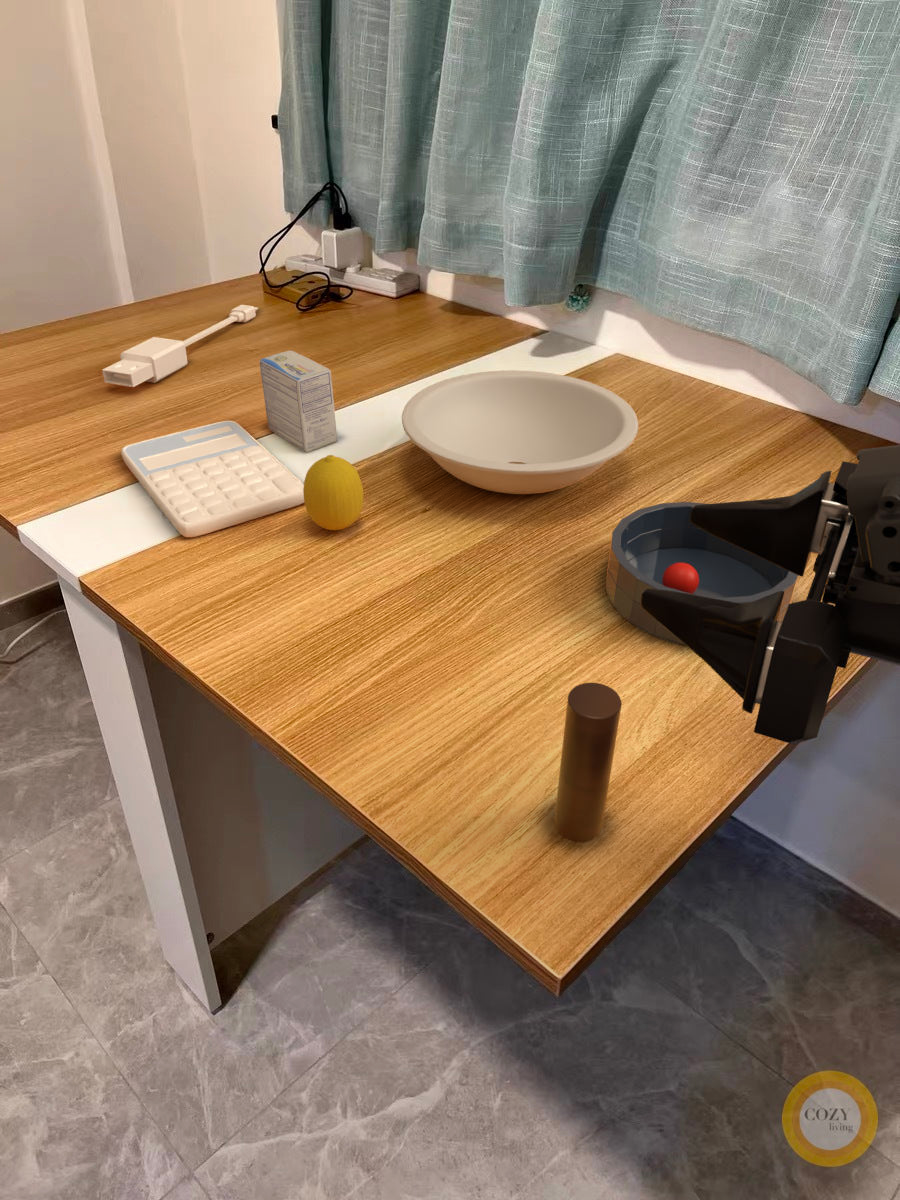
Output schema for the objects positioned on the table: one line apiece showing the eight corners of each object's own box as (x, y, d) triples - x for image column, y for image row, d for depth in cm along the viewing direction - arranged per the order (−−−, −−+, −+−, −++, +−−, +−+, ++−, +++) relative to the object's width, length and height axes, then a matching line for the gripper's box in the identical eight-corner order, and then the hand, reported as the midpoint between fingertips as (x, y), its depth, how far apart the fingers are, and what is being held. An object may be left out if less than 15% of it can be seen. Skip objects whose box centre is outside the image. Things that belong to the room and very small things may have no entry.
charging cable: (269, 321, 134) (266, 298, 133) (137, 394, 109) (132, 368, 107) (240, 317, 136) (237, 295, 134) (103, 388, 111) (97, 362, 109)
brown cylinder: (608, 820, 57) (629, 692, 50) (591, 854, 55) (610, 725, 48) (564, 802, 58) (579, 675, 51) (546, 835, 56) (559, 707, 49)
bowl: (802, 577, 79) (816, 529, 76) (763, 676, 68) (778, 625, 65) (638, 533, 85) (645, 487, 82) (578, 618, 74) (584, 568, 71)
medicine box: (338, 442, 100) (332, 368, 95) (305, 454, 97) (297, 379, 92) (299, 419, 105) (292, 348, 99) (267, 430, 102) (257, 358, 97)
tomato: (700, 590, 76) (706, 561, 74) (690, 609, 74) (696, 579, 72) (666, 580, 77) (671, 552, 75) (655, 598, 75) (660, 569, 73)
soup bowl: (573, 412, 106) (577, 359, 102) (672, 509, 88) (683, 449, 84) (379, 439, 100) (376, 384, 97) (442, 549, 82) (442, 487, 78)
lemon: (338, 553, 82) (331, 476, 77) (295, 534, 84) (286, 458, 79) (377, 528, 85) (373, 453, 80) (335, 510, 88) (329, 436, 83)
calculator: (185, 543, 83) (181, 525, 82) (120, 459, 96) (116, 444, 95) (313, 503, 89) (311, 486, 88) (235, 430, 102) (233, 414, 101)
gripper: (1035, 401, 46) (730, 357, 52) (1026, 601, 33) (623, 510, 39) (968, 576, 52) (705, 518, 59) (939, 798, 40) (607, 694, 46)
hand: (668, 552), depth 50 cm, fingers open, 9 cm apart
